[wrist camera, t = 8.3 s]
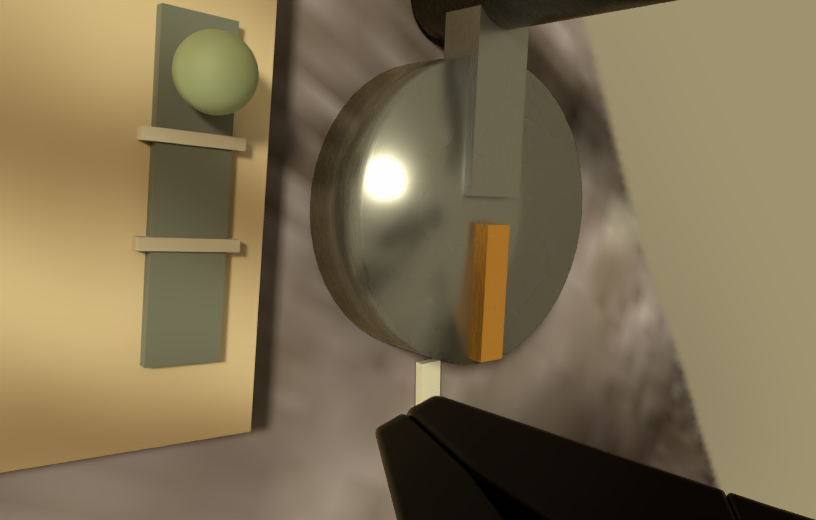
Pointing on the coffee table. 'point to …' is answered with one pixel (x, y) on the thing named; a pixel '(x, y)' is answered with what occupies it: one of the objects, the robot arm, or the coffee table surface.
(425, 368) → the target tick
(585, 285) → the coffee table surface
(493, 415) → the robot arm
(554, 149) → the grey piece
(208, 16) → the stand
